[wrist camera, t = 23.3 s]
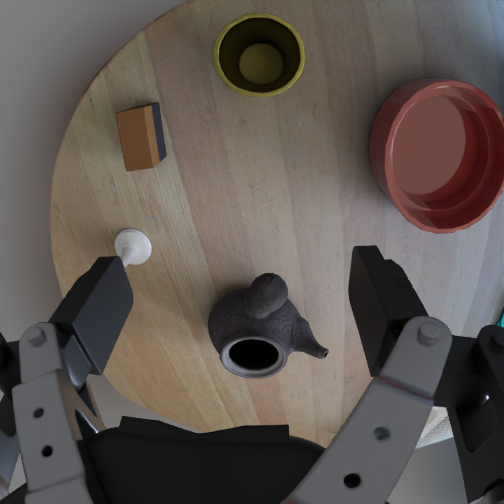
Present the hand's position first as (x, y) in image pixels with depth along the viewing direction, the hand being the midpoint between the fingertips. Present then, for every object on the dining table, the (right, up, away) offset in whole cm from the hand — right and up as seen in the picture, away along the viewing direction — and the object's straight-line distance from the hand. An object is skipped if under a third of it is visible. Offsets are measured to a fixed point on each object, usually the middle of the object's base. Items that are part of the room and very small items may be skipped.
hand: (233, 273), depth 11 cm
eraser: (-10, +14, +20) cm, 27 cm away
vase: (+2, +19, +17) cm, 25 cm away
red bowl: (+21, +13, +20) cm, 31 cm away
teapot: (+2, -5, +32) cm, 32 cm away
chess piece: (-14, +2, +28) cm, 31 cm away
